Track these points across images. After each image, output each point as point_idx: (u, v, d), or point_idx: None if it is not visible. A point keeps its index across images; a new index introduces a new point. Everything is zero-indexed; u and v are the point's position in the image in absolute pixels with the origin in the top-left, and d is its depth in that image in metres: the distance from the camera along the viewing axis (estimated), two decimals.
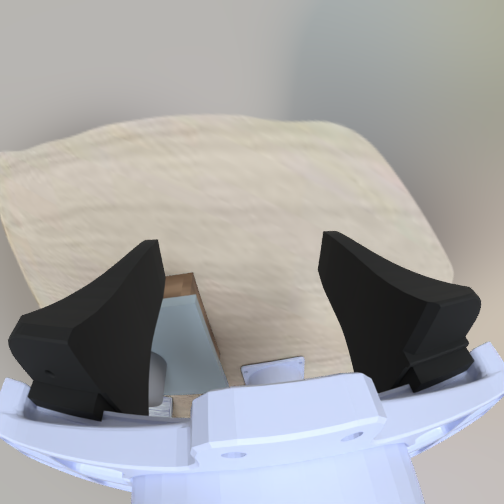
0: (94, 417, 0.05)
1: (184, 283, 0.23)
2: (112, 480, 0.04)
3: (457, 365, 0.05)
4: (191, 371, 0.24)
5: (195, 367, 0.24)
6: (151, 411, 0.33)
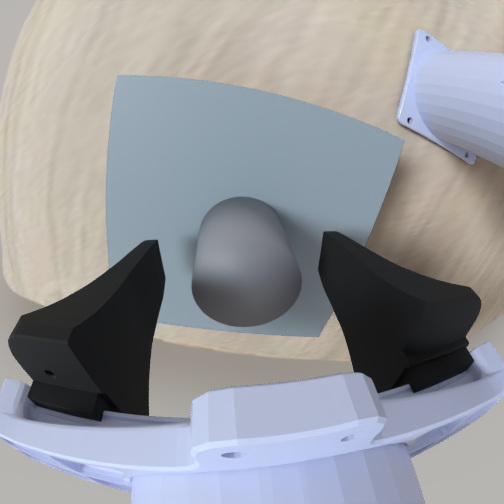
0: (94, 417, 0.05)
1: None
2: (112, 480, 0.04)
3: (457, 365, 0.05)
4: (304, 166, 0.12)
5: (294, 150, 0.11)
6: None
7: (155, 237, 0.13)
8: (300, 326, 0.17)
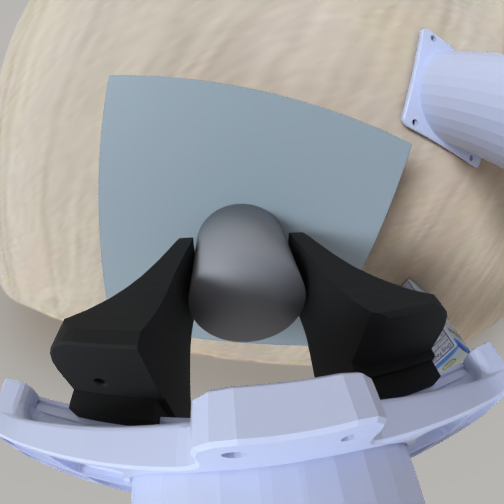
0: (94, 417, 0.05)
1: None
2: (112, 480, 0.04)
3: (418, 381, 0.05)
4: (308, 171, 0.11)
5: (297, 154, 0.11)
6: None
7: (150, 246, 0.12)
8: (301, 335, 0.16)
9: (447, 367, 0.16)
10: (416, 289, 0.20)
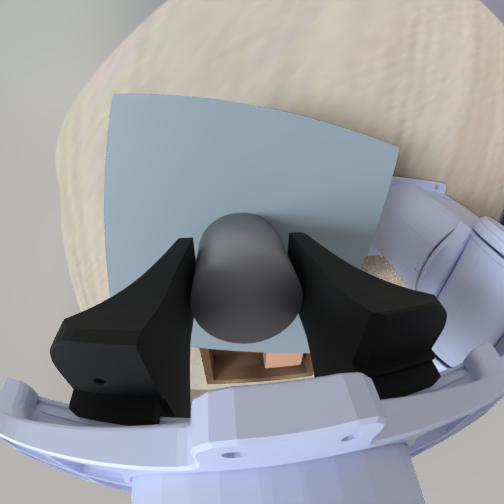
0: (94, 417, 0.05)
1: None
2: (112, 480, 0.04)
3: (418, 380, 0.05)
4: (301, 179, 0.12)
5: (290, 163, 0.11)
6: None
7: (154, 256, 0.13)
8: (304, 342, 0.16)
9: None
10: None
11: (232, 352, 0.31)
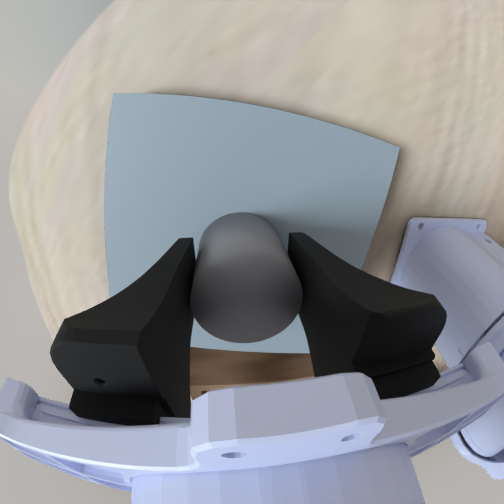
0: (94, 417, 0.05)
1: None
2: (112, 480, 0.04)
3: (418, 381, 0.05)
4: (301, 178, 0.12)
5: (290, 163, 0.11)
6: None
7: (154, 255, 0.13)
8: (304, 342, 0.16)
9: None
10: None
11: None
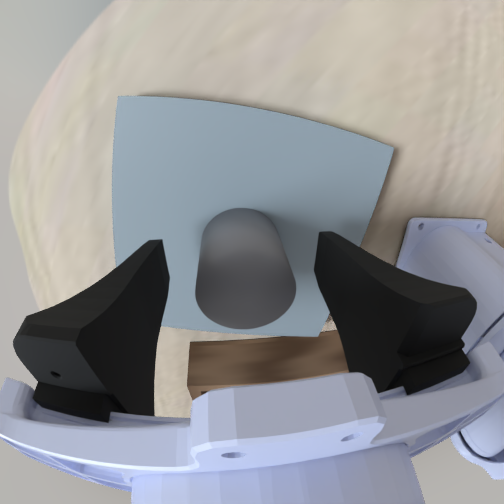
0: (94, 417, 0.05)
1: None
2: (112, 480, 0.04)
3: (452, 367, 0.05)
4: (298, 177, 0.12)
5: (288, 162, 0.12)
6: None
7: None
8: (299, 326, 0.18)
9: None
10: None
11: None
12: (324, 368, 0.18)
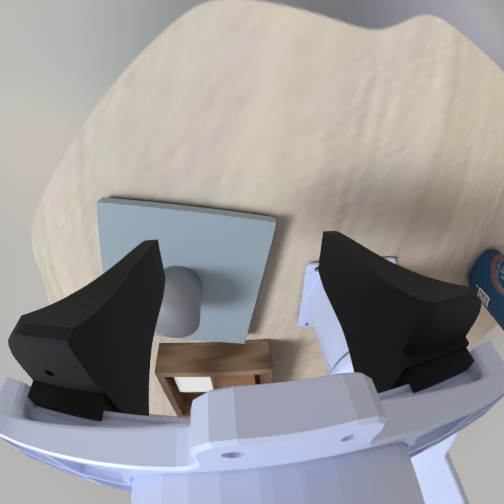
0: (94, 417, 0.05)
1: None
2: (112, 480, 0.04)
3: (457, 365, 0.05)
4: (207, 248, 0.21)
5: (200, 240, 0.20)
6: None
7: None
8: (228, 336, 0.26)
9: None
10: None
11: (200, 393, 0.34)
12: (248, 366, 0.26)
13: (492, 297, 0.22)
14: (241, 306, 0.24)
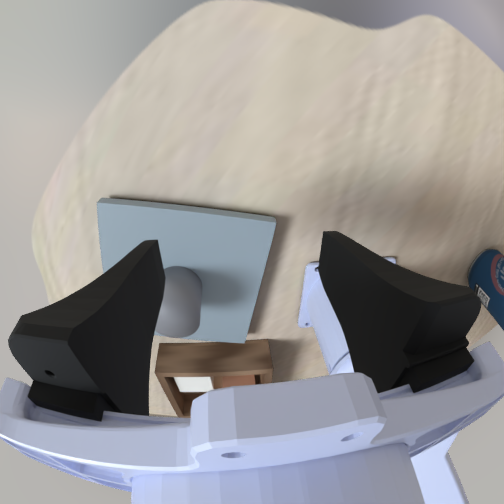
0: (94, 417, 0.05)
1: None
2: (112, 480, 0.04)
3: (457, 365, 0.05)
4: (207, 248, 0.21)
5: (200, 240, 0.20)
6: None
7: None
8: (228, 336, 0.26)
9: None
10: None
11: (200, 393, 0.34)
12: (248, 366, 0.26)
13: (492, 297, 0.22)
14: (241, 306, 0.24)
